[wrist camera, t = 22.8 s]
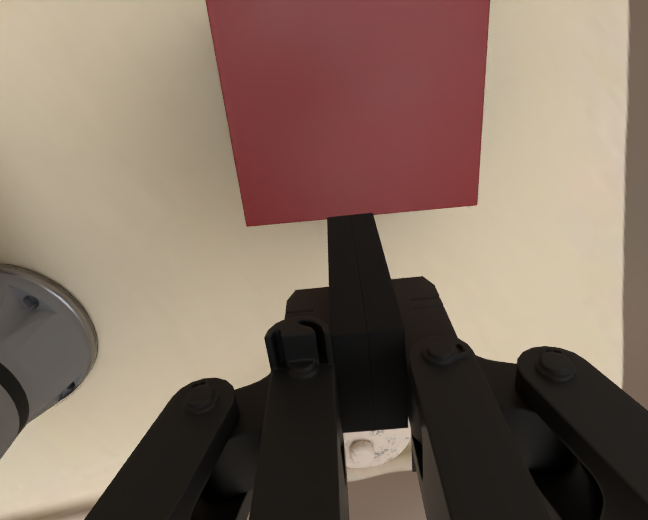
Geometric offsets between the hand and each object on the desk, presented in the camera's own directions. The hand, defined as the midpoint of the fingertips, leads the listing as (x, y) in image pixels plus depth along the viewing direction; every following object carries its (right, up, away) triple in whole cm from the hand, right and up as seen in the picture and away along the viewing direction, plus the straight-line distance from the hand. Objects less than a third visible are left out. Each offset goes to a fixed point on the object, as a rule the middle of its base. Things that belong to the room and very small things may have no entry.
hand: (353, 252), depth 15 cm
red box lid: (+1, +9, +13) cm, 16 cm away
